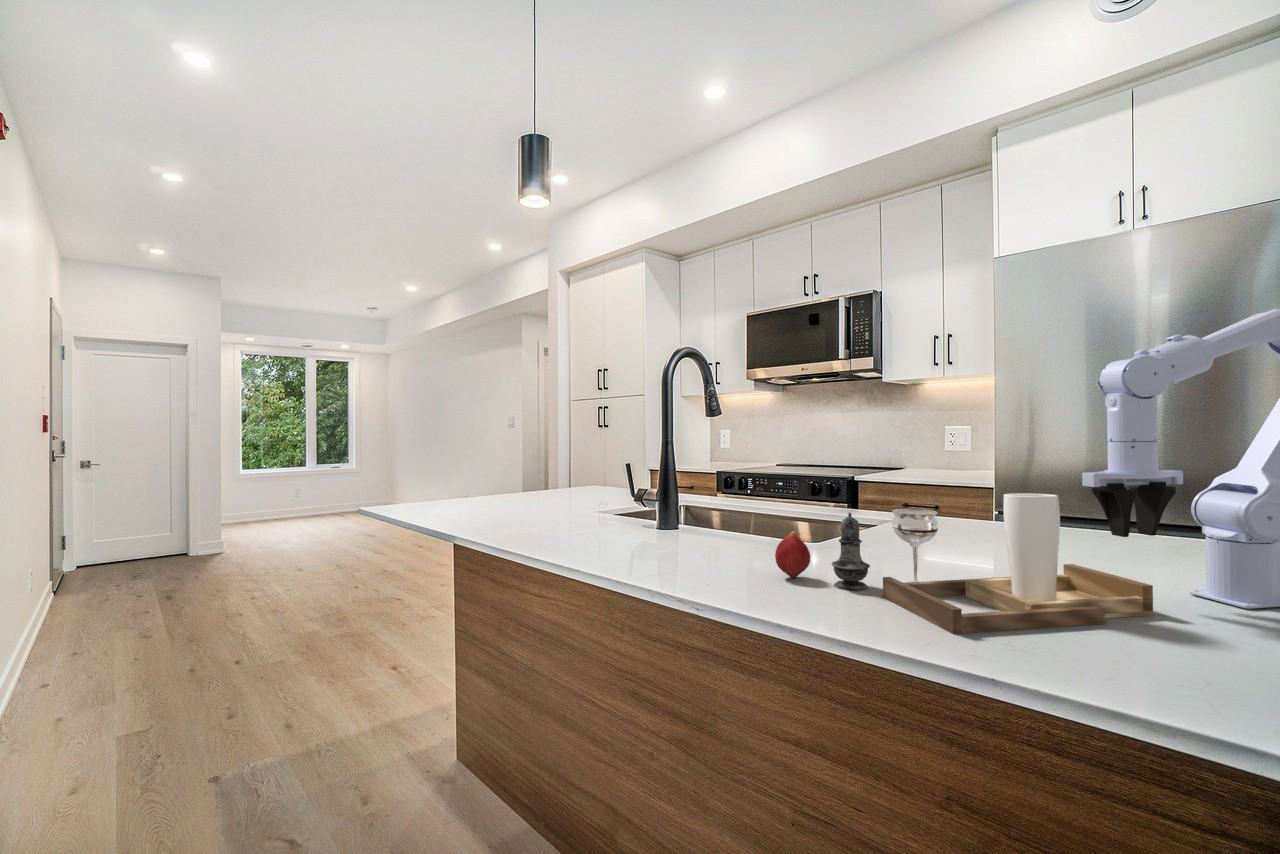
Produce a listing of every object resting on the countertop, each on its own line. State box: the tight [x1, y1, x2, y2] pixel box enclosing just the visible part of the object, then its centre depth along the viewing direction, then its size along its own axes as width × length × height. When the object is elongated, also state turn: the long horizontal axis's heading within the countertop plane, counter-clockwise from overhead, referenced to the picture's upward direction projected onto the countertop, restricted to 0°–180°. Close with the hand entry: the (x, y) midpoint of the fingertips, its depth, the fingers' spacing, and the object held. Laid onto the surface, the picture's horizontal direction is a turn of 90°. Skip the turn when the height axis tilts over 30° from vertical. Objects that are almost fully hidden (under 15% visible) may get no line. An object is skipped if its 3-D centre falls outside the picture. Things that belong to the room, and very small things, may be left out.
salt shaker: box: [831, 511, 871, 592], centre depth 100 cm, size 6×6×12 cm
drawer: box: [964, 563, 1154, 619], centre depth 88 cm, size 18×13×4 cm
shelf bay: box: [882, 576, 1106, 634], centre depth 86 cm, size 21×17×3 cm
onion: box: [774, 530, 811, 579], centre depth 106 cm, size 6×6×8 cm
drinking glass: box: [1002, 492, 1061, 602], centre depth 88 cm, size 7×7×15 cm
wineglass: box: [891, 508, 939, 583], centre depth 99 cm, size 7×7×12 cm
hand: (1133, 535), depth 89 cm, fingers open, 4 cm apart
